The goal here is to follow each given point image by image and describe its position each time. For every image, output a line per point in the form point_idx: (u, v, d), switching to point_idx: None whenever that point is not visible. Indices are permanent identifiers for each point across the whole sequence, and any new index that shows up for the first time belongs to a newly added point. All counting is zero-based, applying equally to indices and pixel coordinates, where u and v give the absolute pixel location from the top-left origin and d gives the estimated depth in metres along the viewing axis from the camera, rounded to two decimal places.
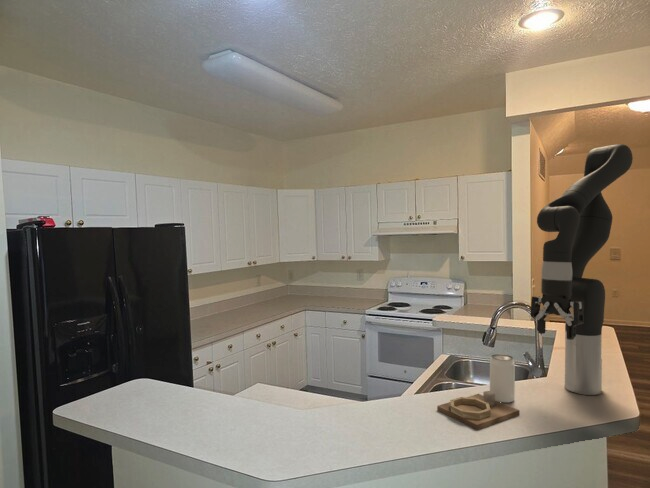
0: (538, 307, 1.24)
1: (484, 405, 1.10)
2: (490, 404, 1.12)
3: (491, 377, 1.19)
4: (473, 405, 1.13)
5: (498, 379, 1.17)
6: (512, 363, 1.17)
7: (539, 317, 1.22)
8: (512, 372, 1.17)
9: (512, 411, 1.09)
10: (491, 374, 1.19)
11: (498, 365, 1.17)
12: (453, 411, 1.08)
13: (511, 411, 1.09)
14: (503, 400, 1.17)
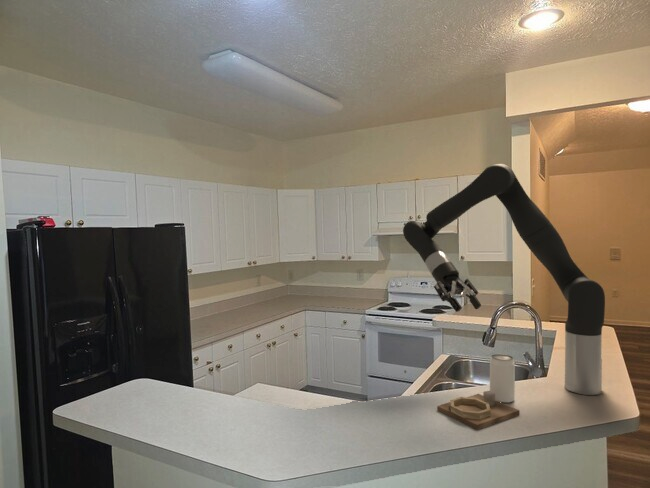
0: (469, 288, 1.36)
1: (484, 405, 1.10)
2: (490, 404, 1.12)
3: (491, 377, 1.19)
4: (473, 405, 1.13)
5: (498, 379, 1.17)
6: (512, 363, 1.17)
7: None
8: (512, 372, 1.17)
9: (512, 411, 1.09)
10: (491, 374, 1.19)
11: (498, 365, 1.17)
12: (453, 411, 1.08)
13: (511, 411, 1.09)
14: (503, 400, 1.17)
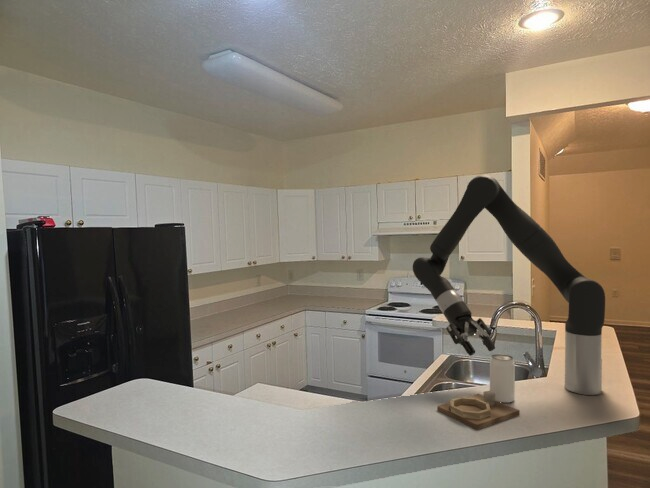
0: (483, 328, 1.32)
1: (484, 405, 1.10)
2: (490, 404, 1.12)
3: (491, 377, 1.19)
4: (473, 405, 1.13)
5: (498, 379, 1.17)
6: (512, 363, 1.17)
7: None
8: (512, 372, 1.17)
9: (512, 411, 1.09)
10: (491, 374, 1.19)
11: (498, 365, 1.17)
12: (453, 411, 1.08)
13: (511, 411, 1.09)
14: (503, 400, 1.17)
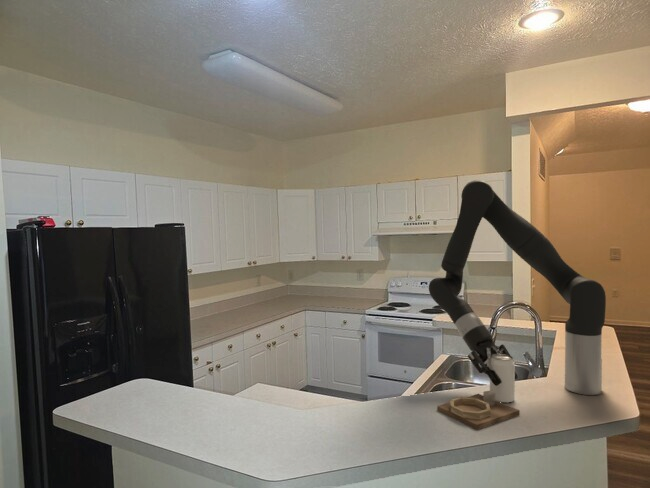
0: None
1: (484, 405, 1.10)
2: (490, 404, 1.12)
3: None
4: (473, 405, 1.13)
5: None
6: (512, 363, 1.17)
7: None
8: (512, 372, 1.17)
9: (512, 411, 1.09)
10: None
11: (498, 365, 1.17)
12: (453, 411, 1.08)
13: (511, 411, 1.09)
14: (503, 400, 1.17)
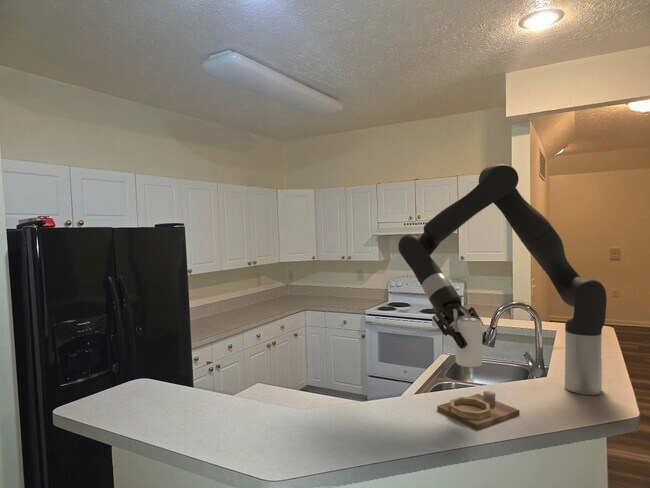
0: None
1: (484, 405, 1.10)
2: (490, 404, 1.12)
3: None
4: (473, 405, 1.13)
5: None
6: (479, 324, 1.07)
7: None
8: (479, 334, 1.07)
9: (512, 411, 1.09)
10: None
11: (464, 326, 1.07)
12: (453, 411, 1.08)
13: (511, 411, 1.09)
14: (468, 364, 1.07)
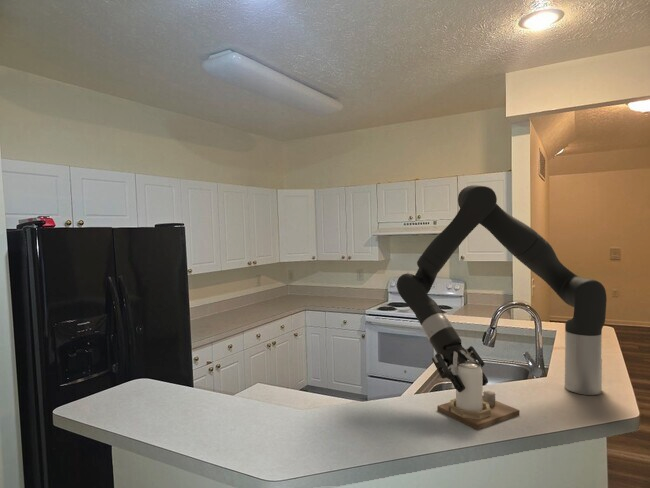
0: (474, 357, 1.15)
1: (484, 405, 1.10)
2: (490, 404, 1.12)
3: None
4: None
5: None
6: (479, 371, 1.07)
7: None
8: (479, 381, 1.07)
9: (512, 411, 1.09)
10: None
11: (464, 373, 1.07)
12: (453, 411, 1.08)
13: (511, 411, 1.09)
14: None
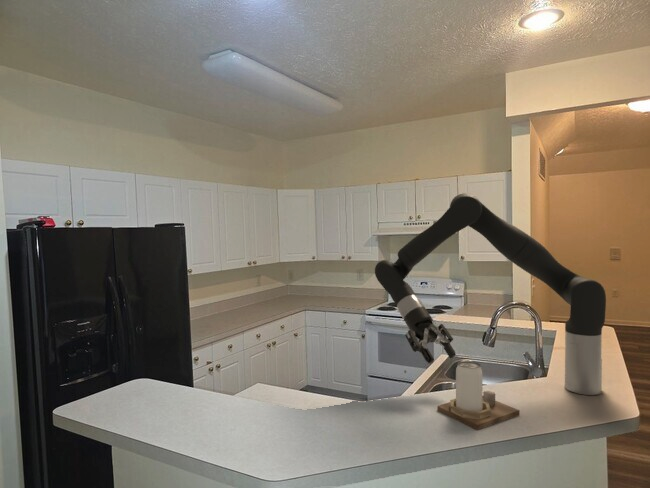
0: (444, 334, 1.28)
1: (484, 405, 1.10)
2: (490, 404, 1.12)
3: (457, 386, 1.09)
4: None
5: (464, 388, 1.07)
6: (479, 371, 1.07)
7: None
8: (479, 381, 1.07)
9: (512, 411, 1.09)
10: (457, 383, 1.09)
11: (464, 373, 1.07)
12: (453, 411, 1.08)
13: (511, 411, 1.09)
14: None
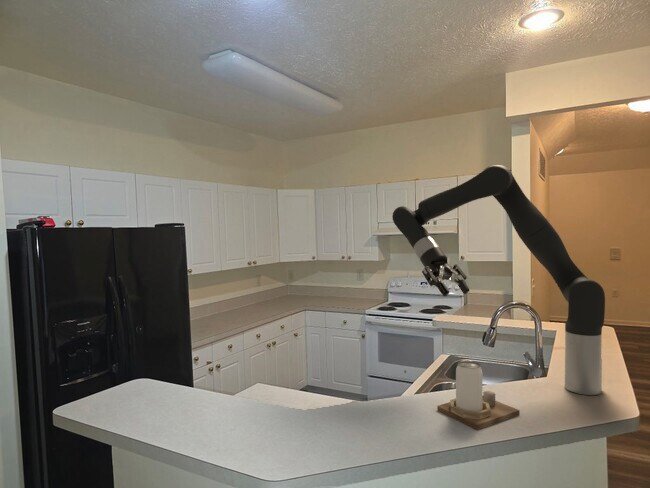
0: (458, 273, 1.35)
1: (484, 405, 1.10)
2: (490, 404, 1.12)
3: (457, 386, 1.09)
4: None
5: (464, 388, 1.07)
6: (479, 371, 1.07)
7: None
8: (479, 381, 1.07)
9: (512, 411, 1.09)
10: (457, 383, 1.09)
11: (464, 373, 1.07)
12: (453, 411, 1.08)
13: (511, 411, 1.09)
14: None
